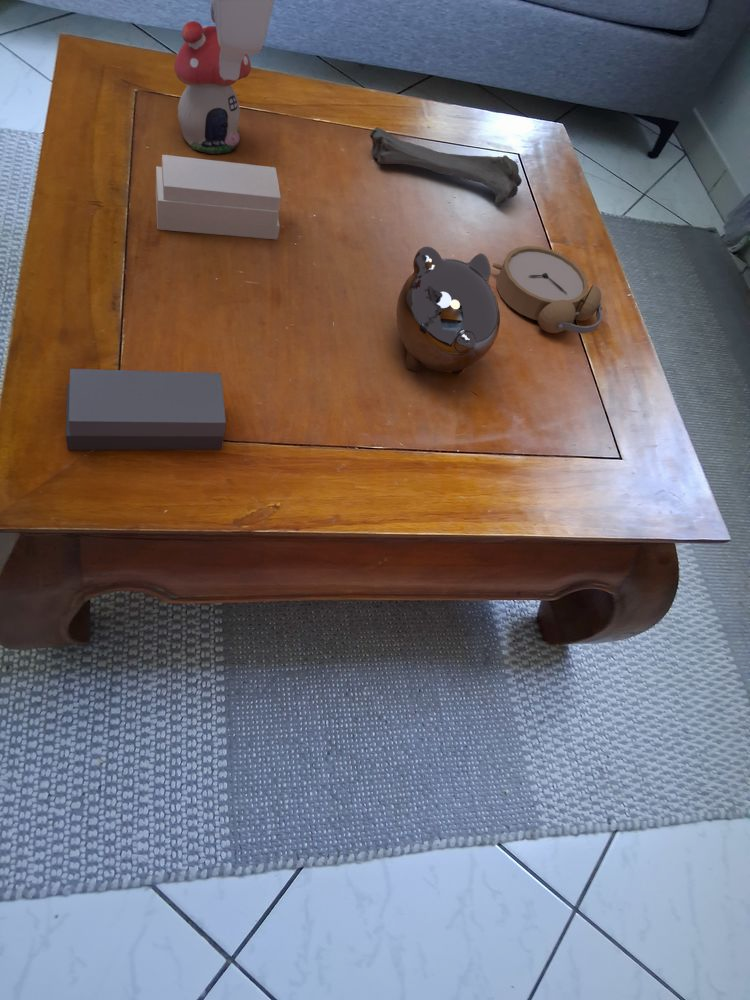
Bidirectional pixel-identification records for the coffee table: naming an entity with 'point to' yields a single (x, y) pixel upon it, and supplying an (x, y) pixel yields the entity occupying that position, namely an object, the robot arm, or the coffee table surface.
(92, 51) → the coffee table surface
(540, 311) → the alarm clock
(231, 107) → the decorative ornament
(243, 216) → the grey oblong block
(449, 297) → the piggy bank
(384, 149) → the bone
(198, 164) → the pale grey rectangular block
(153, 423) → the dark grey box
